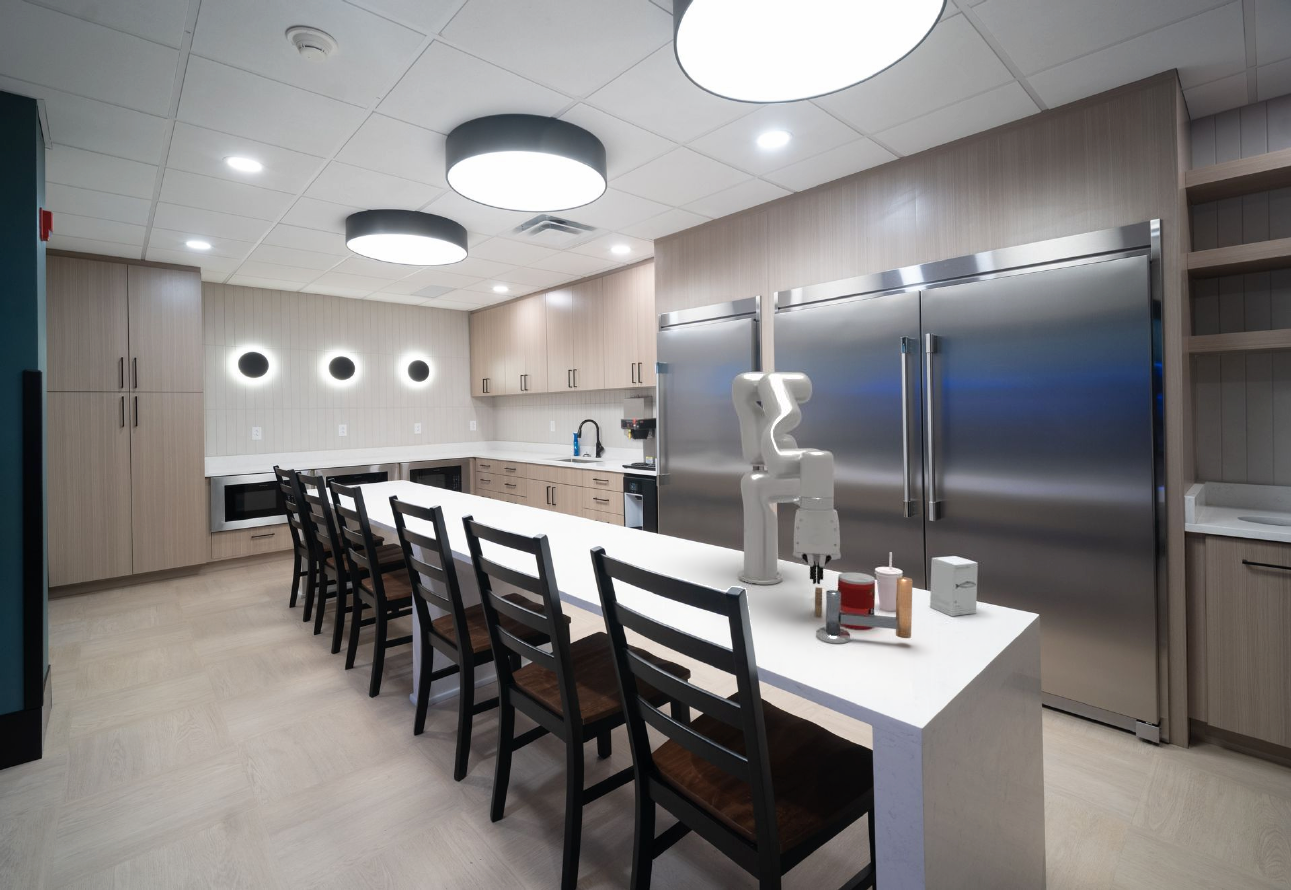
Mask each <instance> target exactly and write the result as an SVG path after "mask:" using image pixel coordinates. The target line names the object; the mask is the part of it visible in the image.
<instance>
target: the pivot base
mask: <svg viewBox="0 0 1291 890" xmlns="http://www.w3.org/2000/svg"><path fill="white" fill-rule="evenodd" d="M815 637H816V638H817V640H819V641H821V642H823V643H827V644H830V645H831V644H832V645H833V644H834V645H842V644H843V645H844V644H846V643H847V644H848V643H849V642H850V641H851V634H850V632H849V631H848V630H846V629H844V628H840V634H829V633H827V632H826V626H824V627H820V628H818V629H816V633H815Z"/></svg>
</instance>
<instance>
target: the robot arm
mask: <svg viewBox="0 0 1291 890" xmlns="http://www.w3.org/2000/svg"><path fill="white" fill-rule="evenodd" d="M812 395H813V385H812V382H811V379H810V378H809V377H808V375H806V374H805V373H804V372H798V371H797V372H795V371H794V372H793V371H792V372H791V371H789V372H787V371H750V372H748V371H747V372H743V373H740V374H738V375H736V376H735V378H733V381H732V384H731V396H732V397H731V398H732V403H733V406H734V409H735V412H736V414H737V416H738V417H737V418H738V420H739V425H740V426H739V428H740V438H741V446H742V447H741V448H742V456H743V459H744V461H745V463H746V464H747V465H749V466H752V467H753V466H754V467H765V468H766V469H759V470H752V471H749V472H746V473H745V474H744V475H743V476H742V477H741V481H740V491H741V497H742V503H743V570H741V571H739V573H738V574H737V575H738V579H739V580H740V581H741V582H744V581H745V583H747V582H748V584H752V583H756V584H755V585H763V586H764V585H767V586H768V585H775V584H779V583H781V582H782V581H783V577H784V576H783V575H782V573H780V572H778V517H777V515H776V513H775V511H774V510H773V509H772V508H771V506H770V505H771V504H777V503H778V504H779V503H781V504H783V503H784V504H785V503H793V505H798V506H799V508H797V509H796V512H795V516H794V526H793V552H792V556H793V557H796V558H800V559H802V560H803V561H804V562H805V563H807V565H808V567H809V579H810V580H812V584H813V585H815V584H817V585H821V581H824V567H825V566H826V565H827V564H828V563H829V562H830V561H834V560H840V559H841V558H842V554H841V550H840V549H841V548H840V547H841V539H840V538H841V535H840V534H841V533H840V522H839V516H838V511H837V510H836V509H835V508H834V507H835V506H834V504H835V503H834V501H835V500H834V498H835V494H834V493H835V492H834V491H835V488H834V487H835V485H834V484H835V482H834V481H835V476H834V475H835V471H834V470H835V462H834V461H835V460H834V459H835V458H834V455H833V453H832V452H831V451H829V450H820V449H819V448H810V447H807V448H805V447H804V448H803V447H802V448H799V447H798V444H797V441H796V439H795V437H794V436H792V435H791V434H789V432H790V431H792V430H794V429H795V428H796V427H797V426H799V424H800V423H801V420H802V417H803V416H802V412H801V409H800V407H799V405H798V404H804V403H807V402H808V401H810V399H811V398H812ZM757 402H761V404H762V407H761V406H760V405H759V404H758V403H757ZM814 555H817V556H818V555H819V561H818V562H817V564H816V561H815V557H814Z"/></svg>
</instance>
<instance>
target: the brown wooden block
mask: <svg viewBox="0 0 1291 890" xmlns="http://www.w3.org/2000/svg"><path fill="white" fill-rule="evenodd" d="M814 588H815V589H814V618H820V619H821V618H822V617H823V587H816V586H815V587H814Z"/></svg>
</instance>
